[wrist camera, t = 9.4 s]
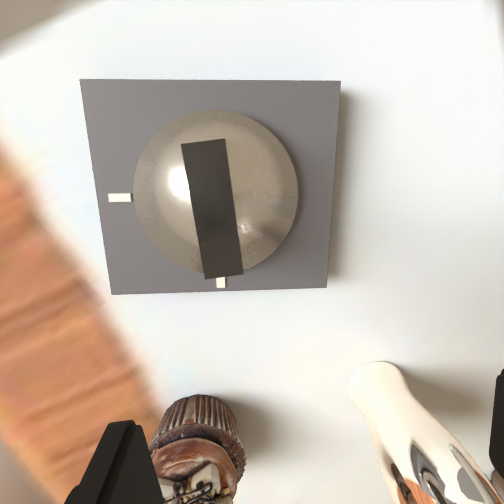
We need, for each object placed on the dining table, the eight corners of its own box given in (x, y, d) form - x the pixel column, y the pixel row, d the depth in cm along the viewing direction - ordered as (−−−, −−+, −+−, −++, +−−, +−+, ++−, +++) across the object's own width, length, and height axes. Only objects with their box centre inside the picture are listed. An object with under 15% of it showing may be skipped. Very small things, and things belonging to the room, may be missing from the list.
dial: (119, 122, 23) (80, 115, 17) (288, 101, 24) (309, 86, 18) (155, 279, 27) (134, 319, 21) (301, 259, 28) (322, 292, 21)
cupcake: (136, 410, 35) (102, 509, 26) (219, 373, 34) (215, 461, 25) (180, 469, 38) (165, 578, 29) (258, 437, 37) (268, 537, 28)
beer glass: (397, 347, 35) (515, 489, 21) (412, 397, 37) (528, 556, 23) (334, 371, 35) (407, 527, 21) (353, 419, 37) (430, 589, 23)
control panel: (328, 87, 27) (341, 80, 24) (317, 274, 32) (327, 288, 29) (95, 86, 26) (78, 78, 22) (122, 280, 31) (110, 295, 27)
